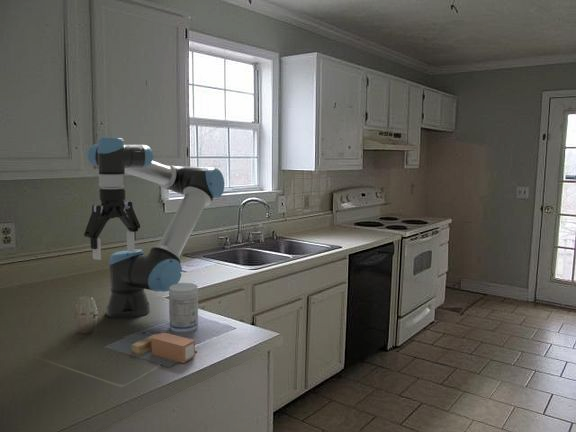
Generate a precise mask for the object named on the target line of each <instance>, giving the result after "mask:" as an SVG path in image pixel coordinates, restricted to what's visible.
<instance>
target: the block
mask: <svg viewBox="0 0 576 432" xmlns="http://www.w3.org/2000/svg"><path fill="white" fill-rule="evenodd" d="M158 334H159V335H156V336H154V337H152V338H151V345H152V354H153V355H157V356H160V357H164V358H167V359H171V360H174V361H178V362H179V363H182V364H185V363H186V362H188V361H190V360H192V359H193V358H195V357H196V353H195V350H196V347H195V346H196V344H195V343H196V341H195V339H192V338H187V337H183V336H179V335H175V334H172V333H167V332H161V333H158Z"/></svg>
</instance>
